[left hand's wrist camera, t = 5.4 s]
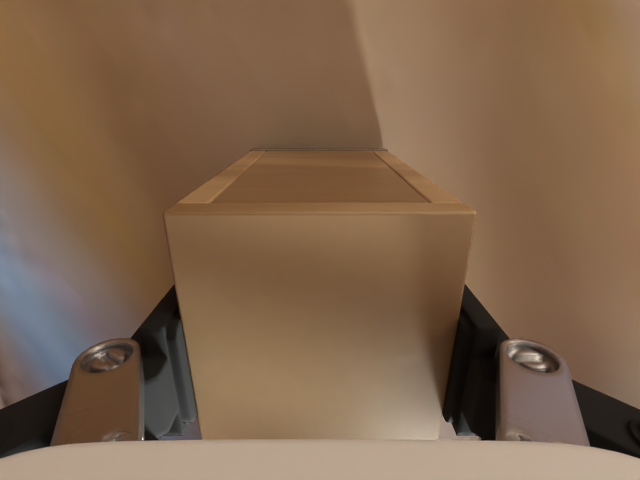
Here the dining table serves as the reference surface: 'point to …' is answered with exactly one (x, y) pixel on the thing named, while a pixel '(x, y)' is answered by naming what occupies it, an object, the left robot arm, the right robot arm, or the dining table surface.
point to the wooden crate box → (319, 295)
